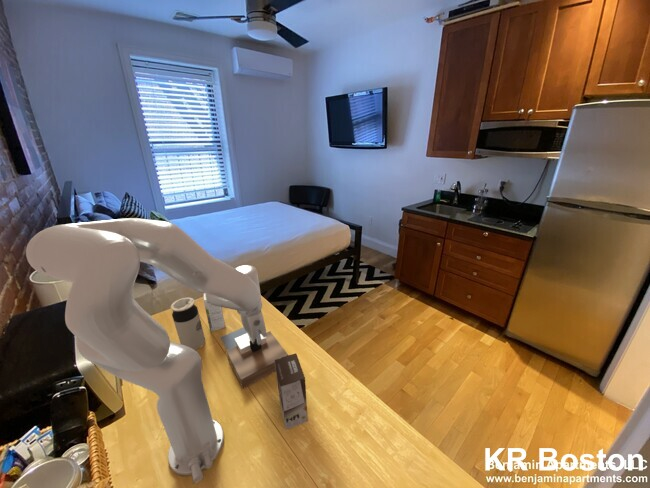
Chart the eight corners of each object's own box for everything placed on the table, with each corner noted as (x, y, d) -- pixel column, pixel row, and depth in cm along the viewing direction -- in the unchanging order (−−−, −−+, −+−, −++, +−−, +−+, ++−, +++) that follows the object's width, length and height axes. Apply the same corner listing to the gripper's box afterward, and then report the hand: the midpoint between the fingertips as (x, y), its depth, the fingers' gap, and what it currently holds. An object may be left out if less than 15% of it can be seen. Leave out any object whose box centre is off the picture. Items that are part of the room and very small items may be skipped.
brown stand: (289, 363, 91) (288, 354, 90) (242, 388, 83) (241, 379, 81) (271, 339, 102) (270, 331, 100) (228, 359, 93) (226, 350, 92)
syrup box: (209, 323, 110) (202, 293, 105) (224, 319, 113) (218, 289, 107) (210, 332, 106) (202, 301, 100) (226, 327, 108) (219, 297, 102)
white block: (266, 342, 95) (266, 337, 94) (241, 354, 90) (240, 349, 89) (259, 332, 99) (259, 327, 98) (235, 343, 95) (234, 338, 94)
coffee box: (308, 421, 73) (306, 379, 67) (285, 430, 71) (280, 387, 65) (299, 392, 81) (296, 352, 75) (278, 400, 79) (273, 359, 73)
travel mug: (176, 350, 98) (164, 309, 90) (191, 334, 105) (181, 295, 97) (196, 353, 96) (184, 312, 88) (209, 338, 103) (200, 298, 96)
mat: (270, 339, 102) (270, 338, 102) (230, 357, 94) (230, 357, 94) (258, 321, 111) (257, 321, 111) (220, 337, 103) (220, 337, 103)
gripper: (270, 312, 80) (276, 358, 87) (251, 289, 91) (258, 331, 99) (245, 322, 76) (253, 369, 83) (229, 296, 87) (237, 340, 95)
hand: (256, 349), depth 91 cm, fingers closed
